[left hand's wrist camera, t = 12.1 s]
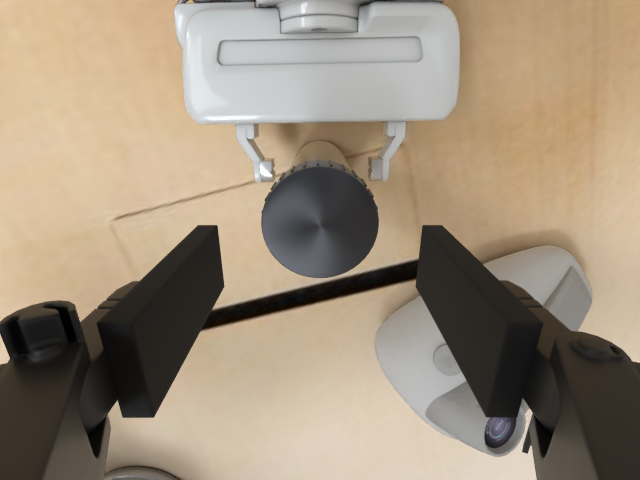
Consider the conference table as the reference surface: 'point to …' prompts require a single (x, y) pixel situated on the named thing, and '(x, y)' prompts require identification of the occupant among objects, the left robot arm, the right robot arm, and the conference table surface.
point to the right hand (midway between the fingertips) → (321, 180)
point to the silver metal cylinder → (320, 153)
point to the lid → (320, 219)
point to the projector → (442, 369)
